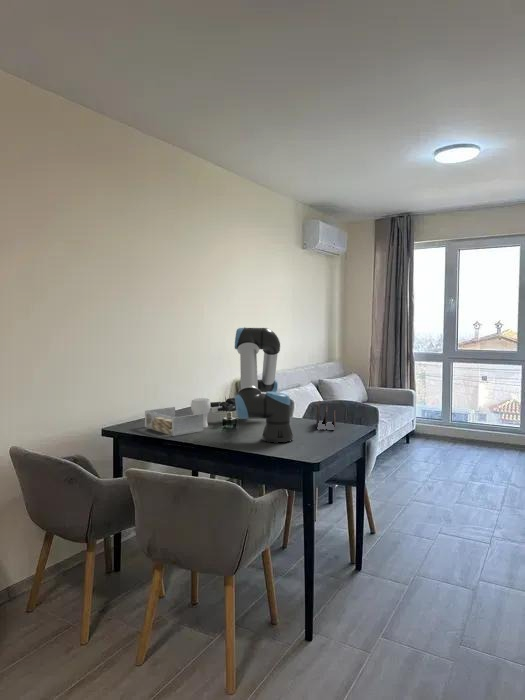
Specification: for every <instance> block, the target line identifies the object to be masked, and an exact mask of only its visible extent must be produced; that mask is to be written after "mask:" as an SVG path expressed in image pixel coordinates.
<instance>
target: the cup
mask: <svg viewBox="0 0 525 700" xmlns="http://www.w3.org/2000/svg"><path fill="white" fill-rule="evenodd" d="M210 402H211V400H210V398H206V397H204V398H203V397H197V398H192V399H191V402H190V409H191V412H192V415H195V414H203V429H204V428H208V427H209V425H208V415H209V414H210V410H211V408H210V407H211V404H210Z"/></svg>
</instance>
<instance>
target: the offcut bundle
mask: <svg viewBox="0 0 525 700" xmlns="http://www.w3.org/2000/svg"><path fill="white" fill-rule="evenodd" d="M152 428H153V429H157V430H160V431H163V432H166V433H170V434H172V420H169V419H166V418H162V417H154V421H152ZM153 429H152V430H153Z"/></svg>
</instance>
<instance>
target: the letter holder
mask: <svg viewBox="0 0 525 700" xmlns="http://www.w3.org/2000/svg"><path fill="white" fill-rule="evenodd" d="M317 403H318V404H317V407H316V409H317V412H316V427H318V423H319V421H320V415H321V414H320V413H321V411H320V410H321V400H318V402H317ZM328 408H329V407H328V405H326V407H325V416H324V418H323V420H322V421H323V422H322V424H325V426H326V423H327V422H332V424H333V425H334V427H335V428H336V410H334V411H333V418H332V419H333V421H330V420H328V410H329V409H328Z"/></svg>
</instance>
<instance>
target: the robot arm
mask: <svg viewBox="0 0 525 700" xmlns="http://www.w3.org/2000/svg"><path fill="white" fill-rule="evenodd" d="M234 350H236V351H237V352H238V355H240V357H239V361H240V364H239V365H240V370H239V371H240V377H239V378H240V380H239V381H240V383H239V387H240V388H239V390H238V392H237V394H234V395H235V396H234V397H231V398H227V399H226V400H225V401H222V402H221V401H216V402H215V401H213V402H212V401H210V404H211V407H210V409H211V413H220V412H226V413H227V412H228V413H229V412H236V416H237V418H239V419H241V420H242V419H245V420H252V419H253V420H260V419H262V420H265V426H264V429H263V431H262V432H263V433H262V436H261V439H262V441H263V440H264V441H263V442H265V441H267V442H266V443H270V442H274V443H273V444H279V443H278V442H287V441H290V440H292V439H293V440H294V434H293V431H292V428H291V425H290V422H291V419H290V418H291V416H290V415H291V412H290V411H291V398H290V395H288V394H287V393H284V392H283V393H282V392H278V385H279V383H278V380H277V379H276V370H277V361H278V354H279V353H280V351H281V342H280V339H279V337H278V336H277V334H276V333H275V332H274V331H273V330H271V329H270V328H267V327H246V326H244V327H238V328H237V329H236V332H235V338H234ZM260 350H262V352H263V361H262V373H261V379H258V358H257V355H258V353H259V352H260ZM262 393H265V394H262ZM287 443H288V442H287Z"/></svg>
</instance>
